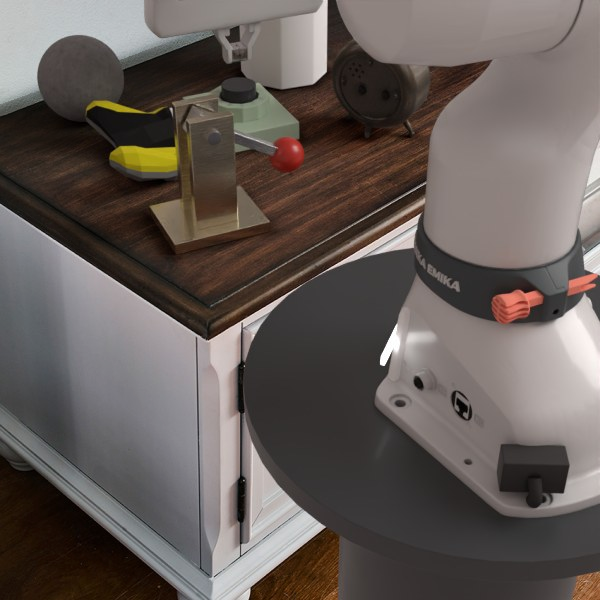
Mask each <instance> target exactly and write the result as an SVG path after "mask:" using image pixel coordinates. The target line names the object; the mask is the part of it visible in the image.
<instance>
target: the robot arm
mask: <svg viewBox="0 0 600 600" xmlns="http://www.w3.org/2000/svg"><path fill="white" fill-rule="evenodd" d="M335 2H336V6H337V8H338V11H339V15H340V17H341V20H342V21H343V23H344V26H345V27H346V29H347V31H348V33H350V35H351V37H352V39H353V38H354V39H355V41H356V42H357V43H358V44H359V45H360V46H361V47H362V49H363V50H364V51H365V52H367V53H368V54H369V55H370V56H371V57H373V58H374V59H375V60H377V61H379V62H382V63H391V64H403V65H416V66H429V67H446V68H449V67H450V68H451V67H452V68H453V67H457V66H464V65H468V64H475V63H480V62H486V61H491V62H490V63H489V64H488V66H487V67H486V69H485V70H484V71H483V72H482V73H481V74H480V75H479V76H478V77H477V78H476V79H475V80H474V81H473V82H472V83H471V84H470V85H468V86H467V87H466V88H465V89H463V90H462V91H461V92H460V93H458V94H457V95H456V96H454V97H453V98H452V99H451V100H450V101H449V102H448V103H447V104H446V106H445V107H444V108H443V109H442V110H441V112H440V113H439V115H438V117H437V119H436V121H435V123H434V125H433V128H432V130H431V133H430V137H429V146H428V156H427V157H428V158H427V170H426V181H425V182H426V183H425V195H424V196H425V197H424V209H423V210H422V212H421V213H420V214H419V217H418V218H417V219H418V220H417V225H416V230H415V233H414V237H413V248H414V250H415V251H414V252H415V253H414V266H415V270H416V272H417V273H416V277H415V279H414V282H413V284H412V287H411V289H410V291H409V293H408V296H407V298H406V300H405V302H404V304H403V306H402V308H401V311H400V314H399V317H398V323H397V325H396V327H395V329H394V331H393V333H392V335H391V337H390V339H389V341H388V344H387V346H386V348H385V350H384V352H383V354H382V356H381V365H385V363H386V361H387V359H388V357H389V355H390V353H391V351H392V356H391V361H390V367H389V373H388V375H387V377H386V378H385V379H384V380H383V381H382V383H381V384H380V385H379V387H378V389H377V391H376V395H375V401H374V403H375V406H376V407H377V408H378V409H379V410H380V411H381V412H382V413H383V414H384V415H385V416H387V417H388V418H389V419H390V420H391V421H392V422H394V423H395V424H396V425H397V426H398V427H399V428H400V429H402V430H403V431H404V432H405V433H406V434H407V435H409V436H410V437H411V438H412V439H413V440H414V441H416V442H417V443H418V444H419V445H420V446H421V447H422V448H424V449H425V450H426V451H427V452H428V453H429V454H431V455H432V456H433V457H434V458H435V459H436V460H438V461H439V462H440V463H441V464H442V465H443V466H444V467H446V468H447V469H448V470H449V471H450V472H451V473H453V474H454V475H455V476H456V477H457V478H458V479H460V480H461V481H462V482H463V483H464V484H465V485H467V486H468V487H469V488H470V489H471V490H472V491H473V492H475V493H476V494H477V495H478V496H479V497H480V498H482V499H483V500H484V501H485V502H486V503H487V504H489V505H490V506H491V507H492V508H493V509H495V510H496V511H497V512H499V513H500V514H502V515H504V516H509V517H517V518H543V517H553V516H558V515H564V514H568V513H572V512H576V511H580V510H583V509H586V508H589V507H592V506H594V505H597V504H600V321H599V319H598V317H597V315H596V314H595V312H594V310H593V308H592V303H591V300H590V299H589V298H588V297H587V296H586V294H585V291H586V290H588V289H591V288H593V287H595V286H596V285H595V284H588V283H590V282H591V281H592V280H594V279H595V278H597V277H598V275H599V274H598V273H596V272H595V274H590V275H587V276H585V270H586V269H585V260H584V259H585V257H584V256H585V252H584V251H585V250H584V247H583V242H582V241H583V240H582V235H581V231H580V228H579V224H580V219H581V214H582V208H583V205H584V200H585V195H586V191H587V188H588V183H589V179H590V178H589V177H590V174H591V170H592V165H593V161H594V157H595V154H596V151H597V149H598V146H599V142H600V0H335ZM322 3H323V0H143V13H144V14H143V16H144V17H143V18H144V23H145V25H146V27H147V29H149V30H150V32H151V33H152V34H154V35H155V36H156V37H158V38H159V39H168V38H174V37H180V36H185V35H191V34H198V33H203V32H209V31H211V32H212V34H213V35H214V37H215V38H216V40H217V41H218V43H219V44H220V45H221V49H222V50H221V51H222V52H221V53H222V59H223V61H224V62H225V64H227V65H228V64H229V65H230V64H234V63H241V61H246V60H251V59H252V48H251V46H253V44H254V42H255V40H256V38H257V36H258V34H259V33H260V22H263V21H268V20H274V19H280V18H286V17H292V16H298V15H304V14H310V13H315V12H317V11H318V9H319V8H320V6H321V5H322ZM240 25H243V26H244V27H245V28H246V29H245V31H244V34H243V36H242V38H241V41H240V40H239V41H236V42H235V41H234V42H229V40H228V39H227V38H226V37H229V36H230V35H231V28H233V27H238V26H239V27H240ZM586 284H588V285H586ZM392 349H393V350H392Z"/></svg>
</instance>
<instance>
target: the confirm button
mask: <svg viewBox="0 0 600 600" xmlns="http://www.w3.org/2000/svg"><path fill="white" fill-rule="evenodd" d="M220 86H221V90H222V100H223V101H225V102H228V103H232V104H244V103H249V102H252V101H254V100H255V99H256V83H255V82H254V81H253V80H251V79H249V78H247V77H230V78H226V79H225V80H223V81H222V82H221V84H220Z"/></svg>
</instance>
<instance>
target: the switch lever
mask: <svg viewBox="0 0 600 600" xmlns="http://www.w3.org/2000/svg"><path fill="white" fill-rule="evenodd" d="M210 114H215V113H212V112H209V111H206V110H204V109H201V108H198V107H195V106H192V108H191V110H190V112H189V114H188V116H187V118H186V119H190V118H195V117H200V116H205V115H210ZM182 128H183V129H184V130H185V132H186V133H187V129H186V120H185V122H184V124H183V126H182ZM234 138H235V143H236V144H239V145H241V146H244V147H247V148H250V150H253V151H256V152H259V153H262V154H265V155H268V159H269V162H270V164H271V166H272V167H273V168H274V169H275V170H277V171H278V172H280V173H292V172H295V171H296V170H298V169H299V168H300V167H301V166H302V164H303V162H304V159H305V150H304V146H303V145H302V144H301V142H300V141H299V139H297V140H296V139H294V138H292V137H281V138H279V139H277V140H275V141H274V142H273V143H271V142H268V141H265V140H262V139H259V138H257V137H254V136H251V135H248V134H245V133H243V132H240V131H237V130H234Z"/></svg>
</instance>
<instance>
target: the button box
mask: <svg viewBox="0 0 600 600" xmlns="http://www.w3.org/2000/svg"><path fill="white" fill-rule="evenodd" d="M212 94H215V95H216V96H217V97H218V106H219V113H220V112H225V111H231V112H232V114H233V116H234V130H237V131H240V132H243V133H245V134H248V135H251V136H254V137H257V138H259V139H262V140H265V141H268V142H271V143H273V142H274V141H275V140H277V139H279V138H281V137H292V138H294V139H296V140H300V122H299V120H298V119H297V118H296V117H295V116H293V114H292V113H291V112H290V111H288V110H287V108H286V107H284V106H283V104H281V103H280V102H279V100H277V99H276V98H275V97H274V96H273V95H272V94H271V93H270V92H269V91H268V90H267V89H266V87H265V86H262V85H261V84H260V83H256V99H255V100H254V101H252V102H249V103H244V104H232V103H228V102H225V101H223V100H222V90H221V85H219V86H217V87H216V88H214V89H212V90H211V91H208V92H203V93H198V94H193V95H187V96H182V100H186V99H191V98H197V97H202V96H207V95H212ZM250 150H251V149H250V148H247V147H244V146H241V145H239V144H236V143H235V154H237V153H241V152H246V151H250Z"/></svg>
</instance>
